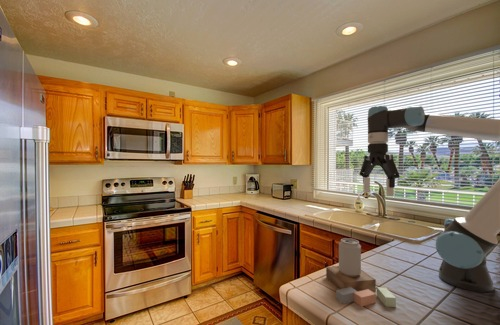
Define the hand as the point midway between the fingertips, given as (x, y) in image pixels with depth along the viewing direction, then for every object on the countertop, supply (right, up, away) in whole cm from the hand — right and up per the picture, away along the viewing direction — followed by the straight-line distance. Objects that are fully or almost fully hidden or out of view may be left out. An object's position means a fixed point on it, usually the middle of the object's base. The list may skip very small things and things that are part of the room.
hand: (377, 193), depth 98 cm
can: (-17, -28, -13) cm, 35 cm away
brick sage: (-10, -32, -23) cm, 41 cm away
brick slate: (-22, -32, -23) cm, 45 cm away
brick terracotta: (-17, -32, -24) cm, 43 cm away
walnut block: (-17, -31, -13) cm, 38 cm away
